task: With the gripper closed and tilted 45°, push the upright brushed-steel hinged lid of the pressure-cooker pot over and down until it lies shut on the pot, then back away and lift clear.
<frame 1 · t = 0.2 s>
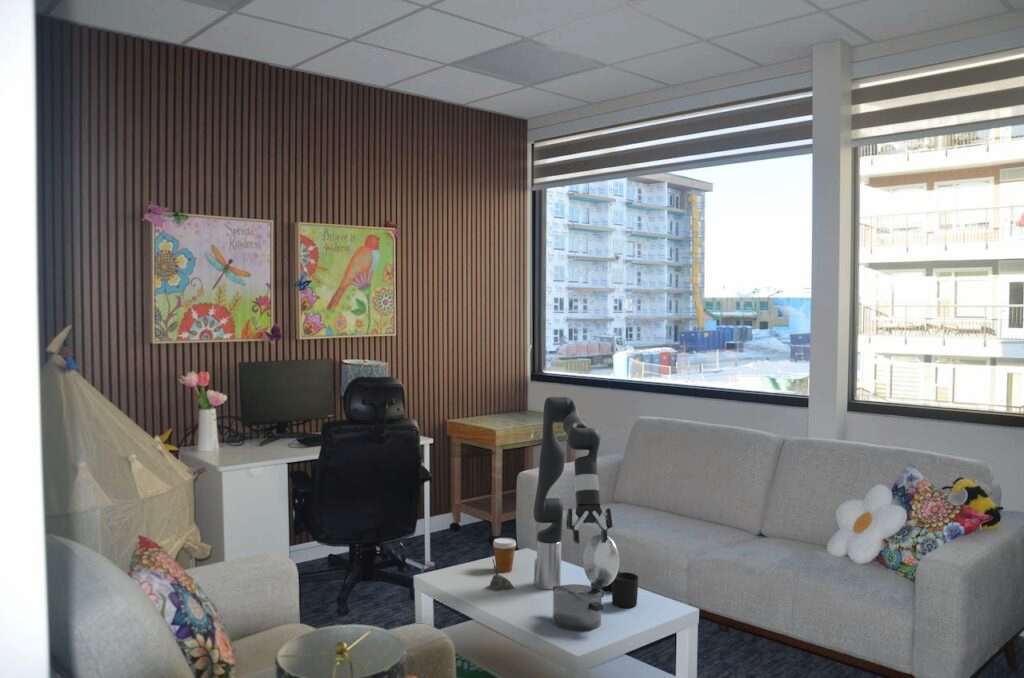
hand: (590, 543, 243), 31 cm above the table, tool tilted 20°, fingers open, 8 cm apart
cooker lid: (602, 561, 267), point 19 cm above the table, hinge at 100.0°
cooker pot: (576, 621, 261), on the table
digital camera: (605, 590, 295), on the table
pen holder: (624, 604, 279), on the table
disposable coffee cup: (504, 570, 317), on the table
sword in stone: (500, 588, 295), on the table
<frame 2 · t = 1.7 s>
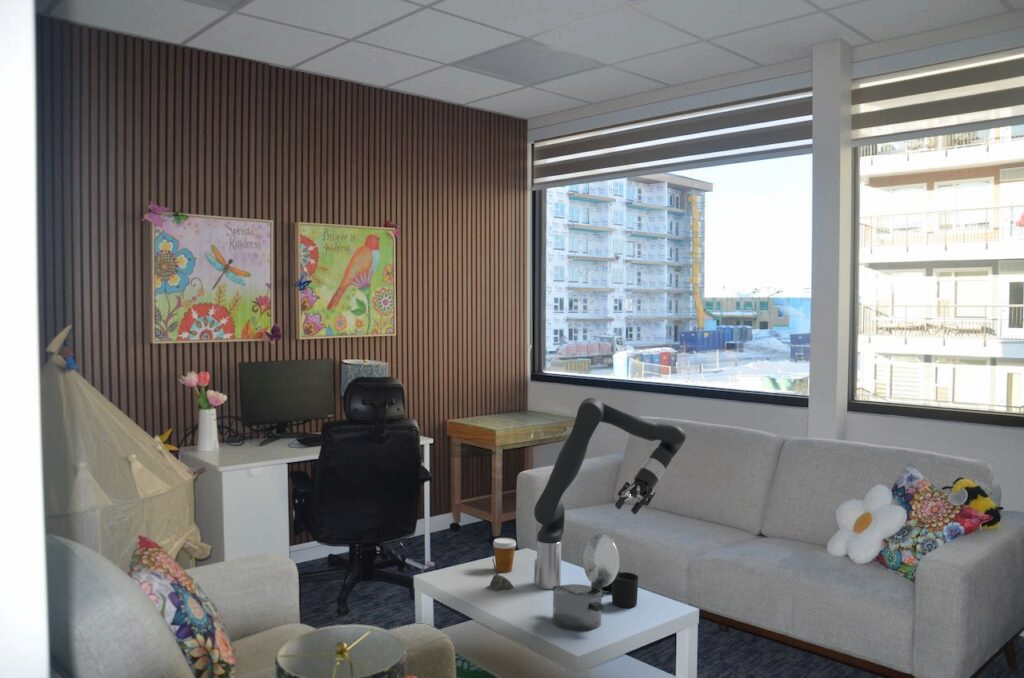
hand: (624, 510, 272), 35 cm above the table, tool tilted 45°, fingers open, 8 cm apart
nothing on the table moved.
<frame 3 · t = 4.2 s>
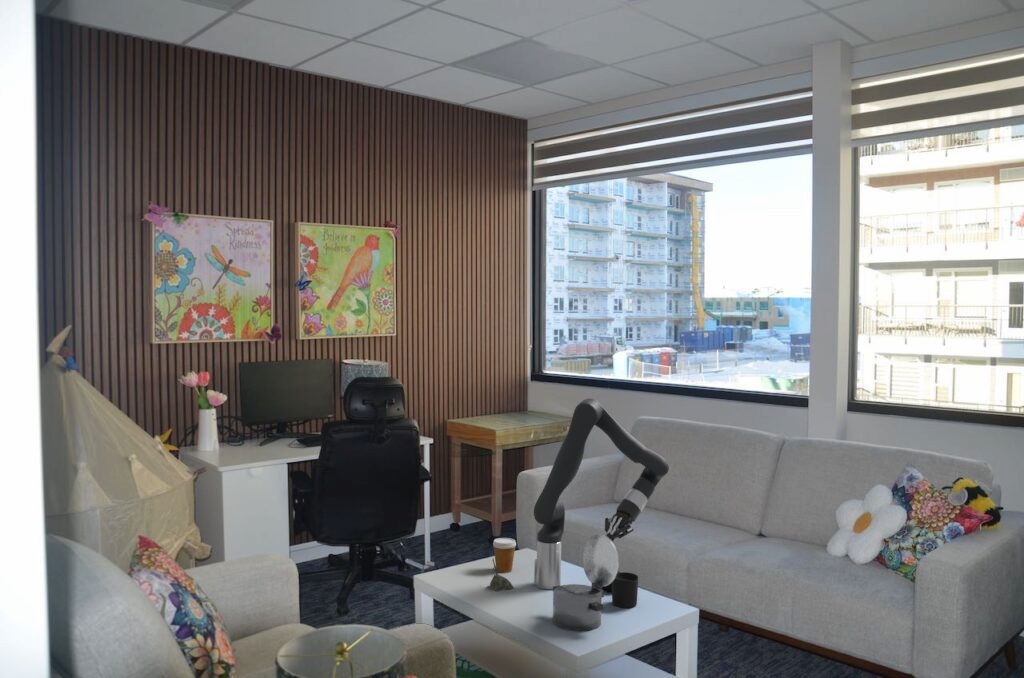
hand: (605, 544, 267), 24 cm above the table, tool tilted 45°, fingers closed
cooker lid: (601, 561, 267), point 19 cm above the table, hinge at 98.3°
everything else where it was.
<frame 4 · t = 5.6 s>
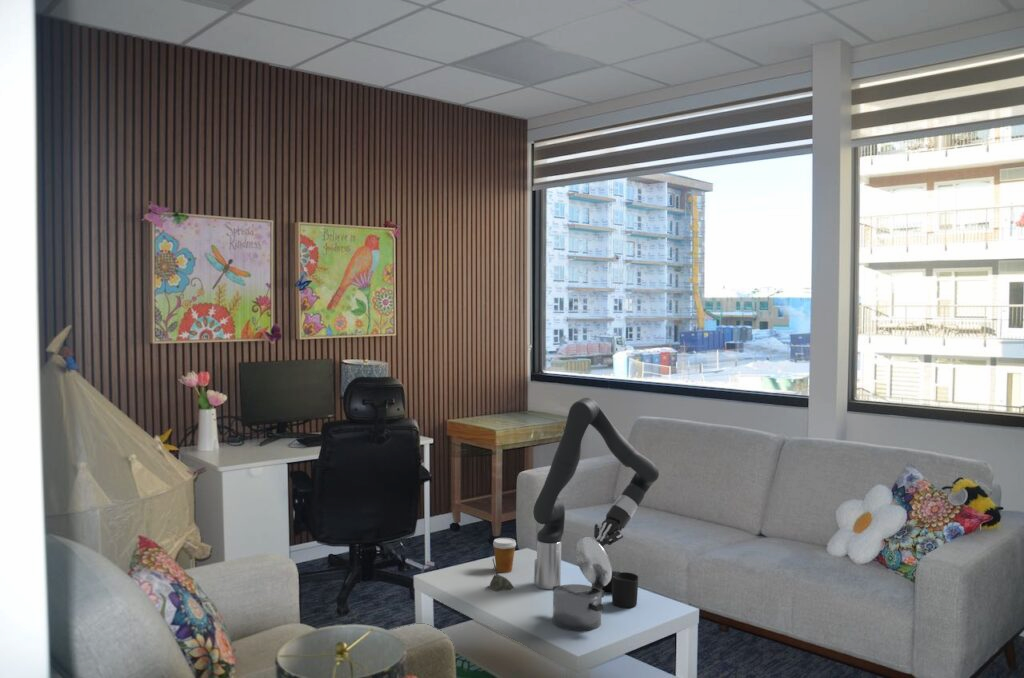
hand: (594, 551, 265), 22 cm above the table, tool tilted 45°, fingers closed
cooker lid: (595, 562, 265), point 19 cm above the table, hinge at 77.4°, touching gripper
everything else where it was.
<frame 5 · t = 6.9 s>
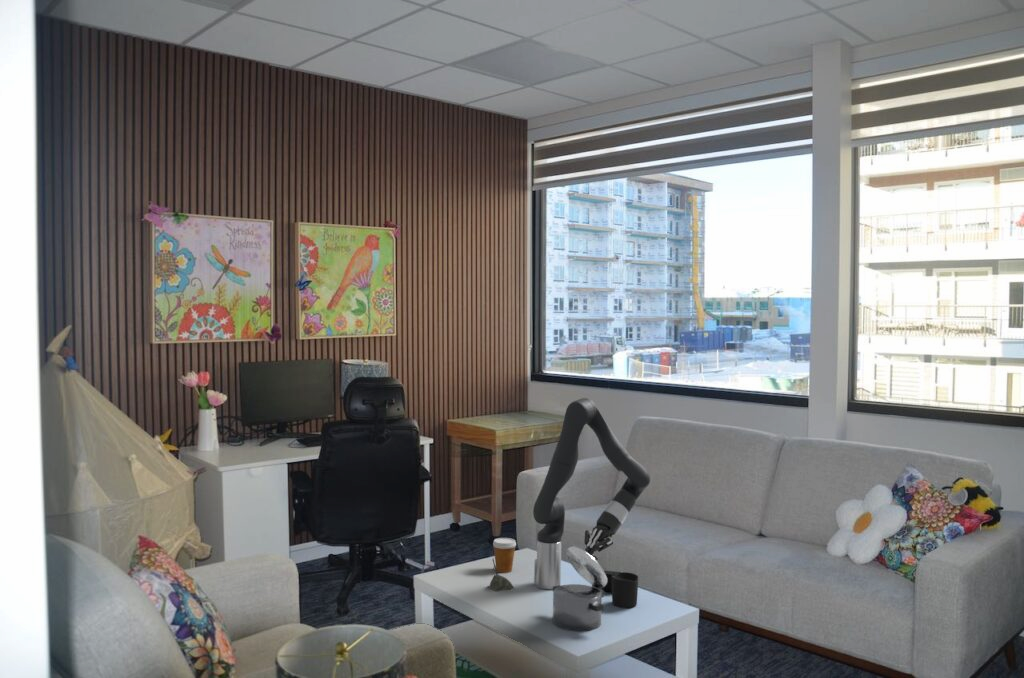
hand: (584, 558, 262), 21 cm above the table, tool tilted 45°, fingers closed
cooker lid: (588, 566, 264), point 18 cm above the table, hinge at 56.3°, touching gripper
everything else where it was.
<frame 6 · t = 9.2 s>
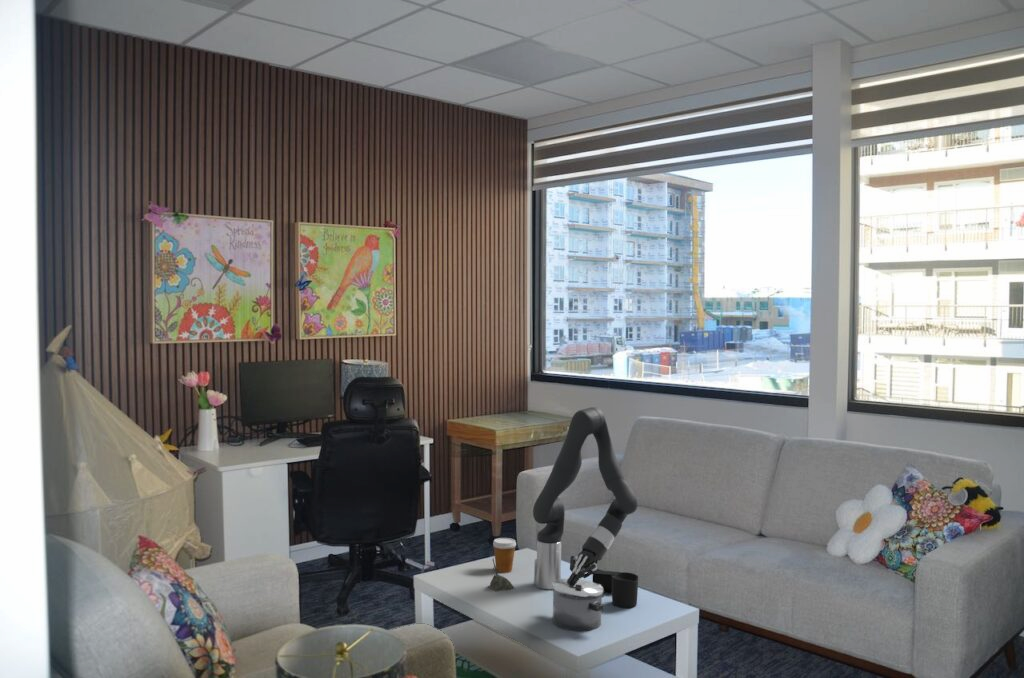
hand: (569, 584, 259), 13 cm above the table, tool tilted 45°, fingers closed
cooker lid: (578, 585, 261), point 12 cm above the table, hinge at 5.2°, touching gripper
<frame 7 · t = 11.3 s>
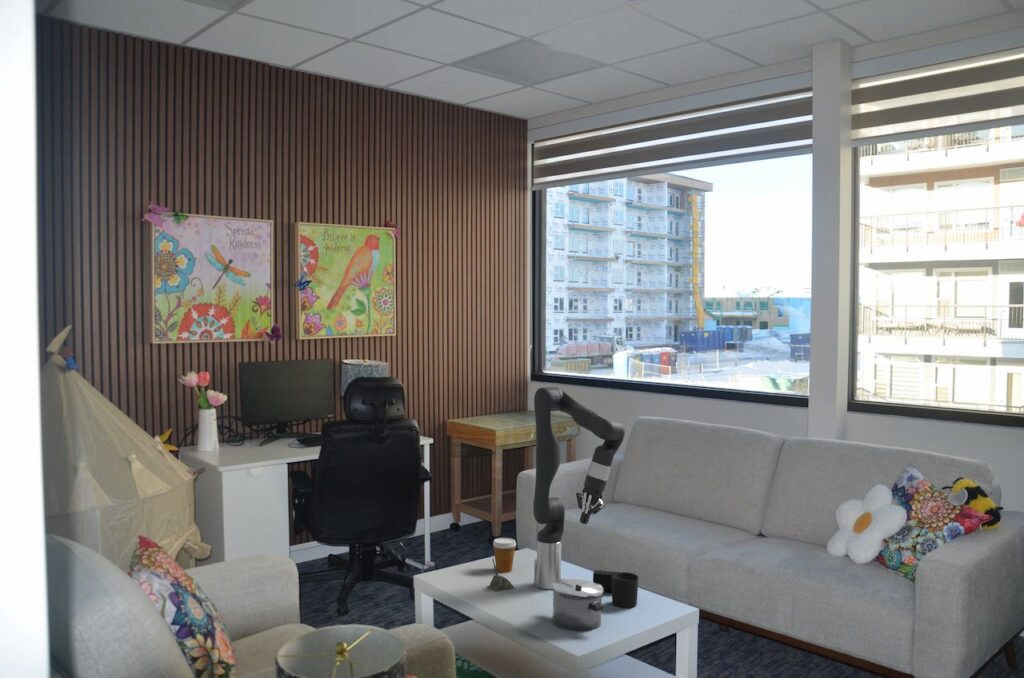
hand: (583, 523, 275), 29 cm above the table, tool tilted 15°, fingers closed
cooker lid: (578, 585, 261), point 12 cm above the table, hinge at 5.1°
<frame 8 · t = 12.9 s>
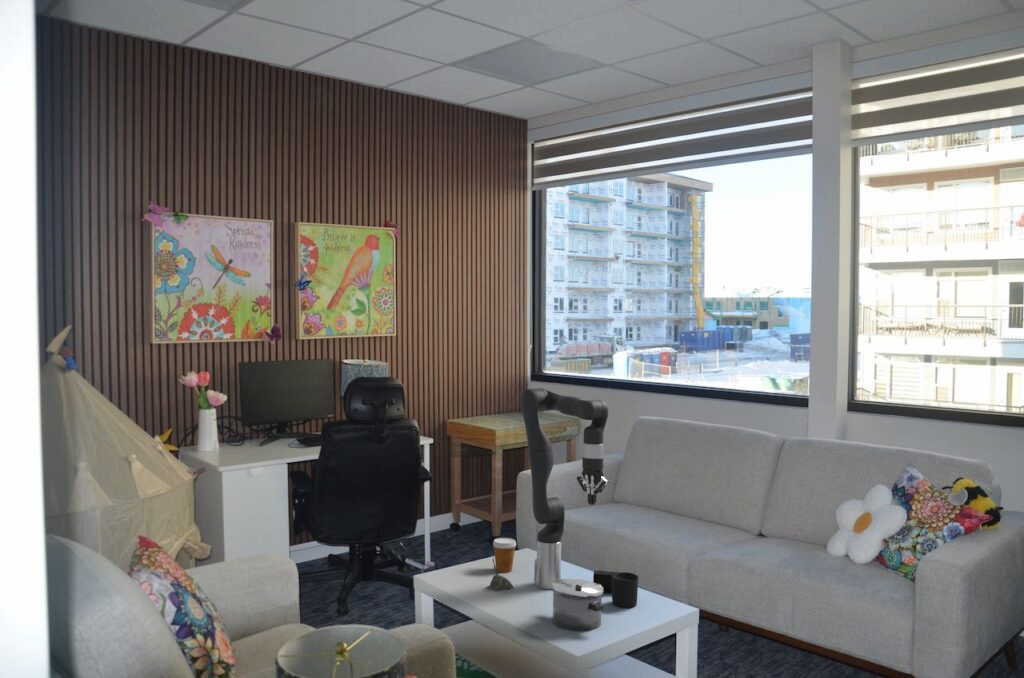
hand: (592, 504, 280), 35 cm above the table, tool pointing down, fingers closed
at the end: cooker lid at +5° (first picture: +100°); pen holder moved 0.3 cm from its start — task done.
